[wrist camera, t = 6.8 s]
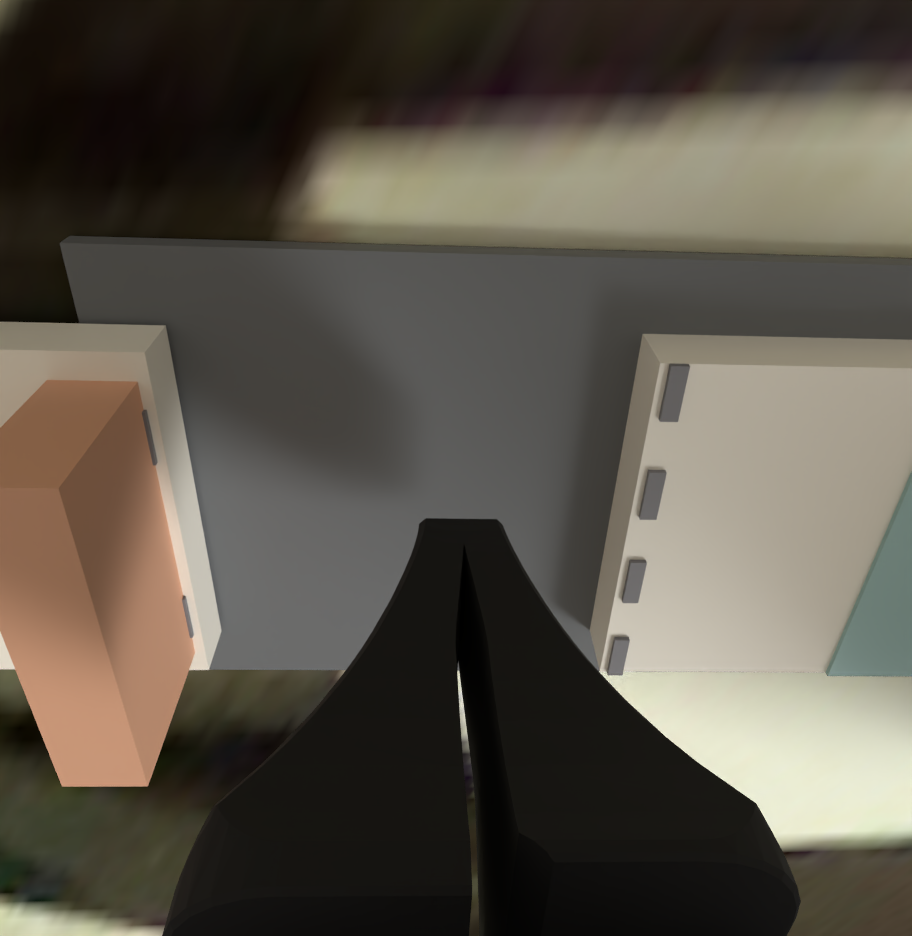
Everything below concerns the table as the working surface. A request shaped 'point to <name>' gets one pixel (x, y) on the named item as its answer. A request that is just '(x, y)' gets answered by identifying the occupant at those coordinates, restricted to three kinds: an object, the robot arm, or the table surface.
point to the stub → (99, 544)
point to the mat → (426, 402)
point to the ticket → (762, 510)
